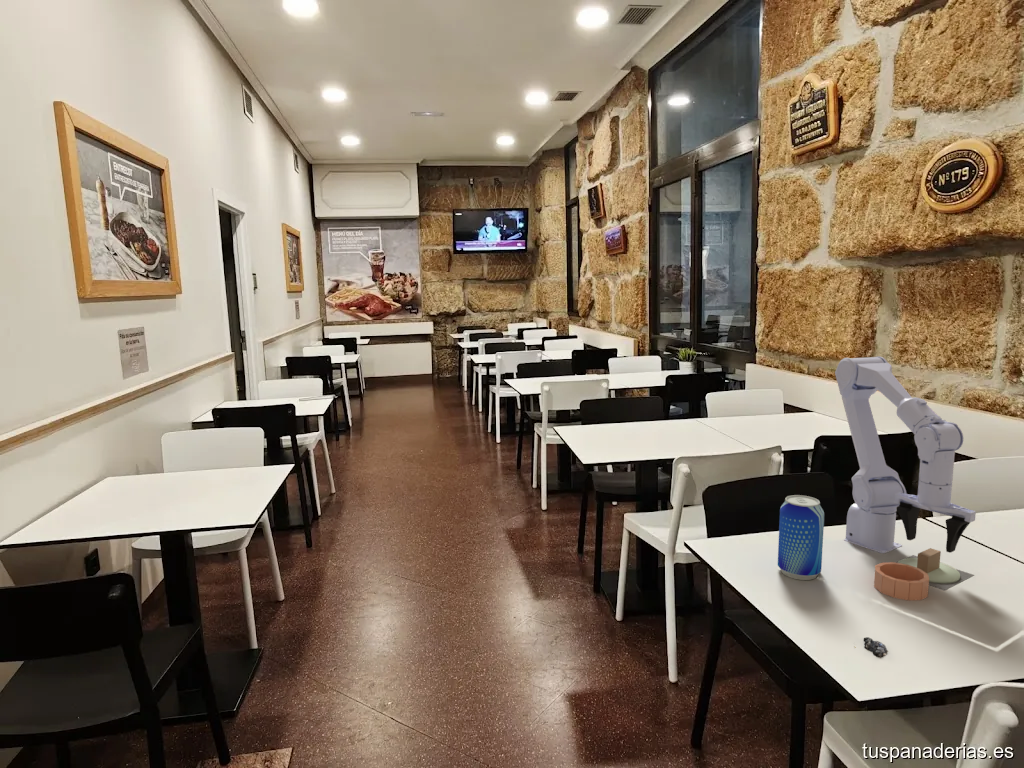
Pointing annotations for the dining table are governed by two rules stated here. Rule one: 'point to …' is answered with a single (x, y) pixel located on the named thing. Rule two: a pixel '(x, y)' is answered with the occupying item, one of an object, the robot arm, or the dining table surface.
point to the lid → (933, 567)
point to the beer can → (800, 537)
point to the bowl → (901, 581)
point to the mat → (946, 586)
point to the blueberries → (875, 647)
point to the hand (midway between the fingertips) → (930, 544)
